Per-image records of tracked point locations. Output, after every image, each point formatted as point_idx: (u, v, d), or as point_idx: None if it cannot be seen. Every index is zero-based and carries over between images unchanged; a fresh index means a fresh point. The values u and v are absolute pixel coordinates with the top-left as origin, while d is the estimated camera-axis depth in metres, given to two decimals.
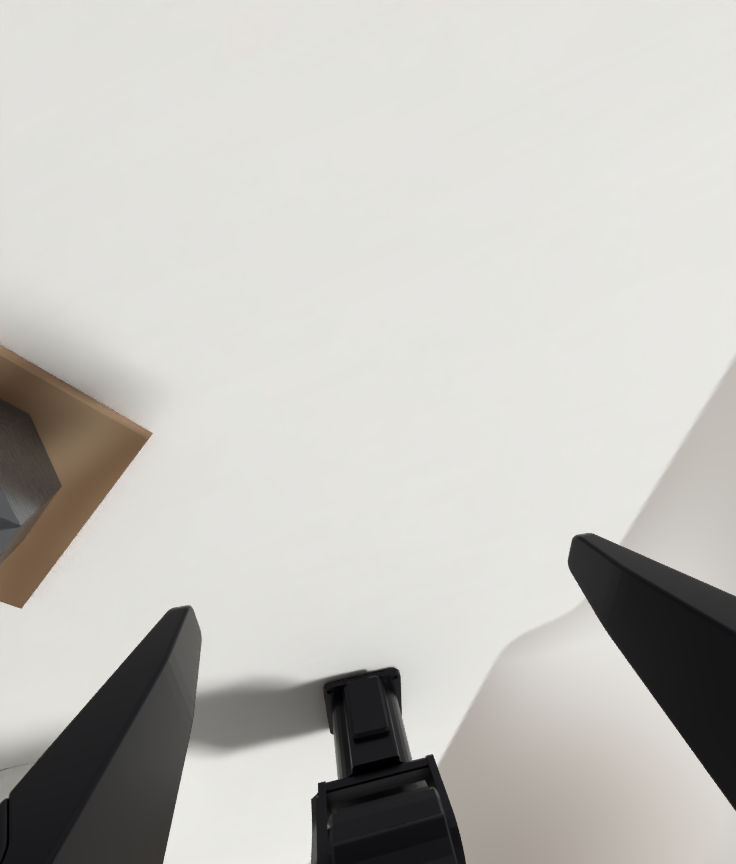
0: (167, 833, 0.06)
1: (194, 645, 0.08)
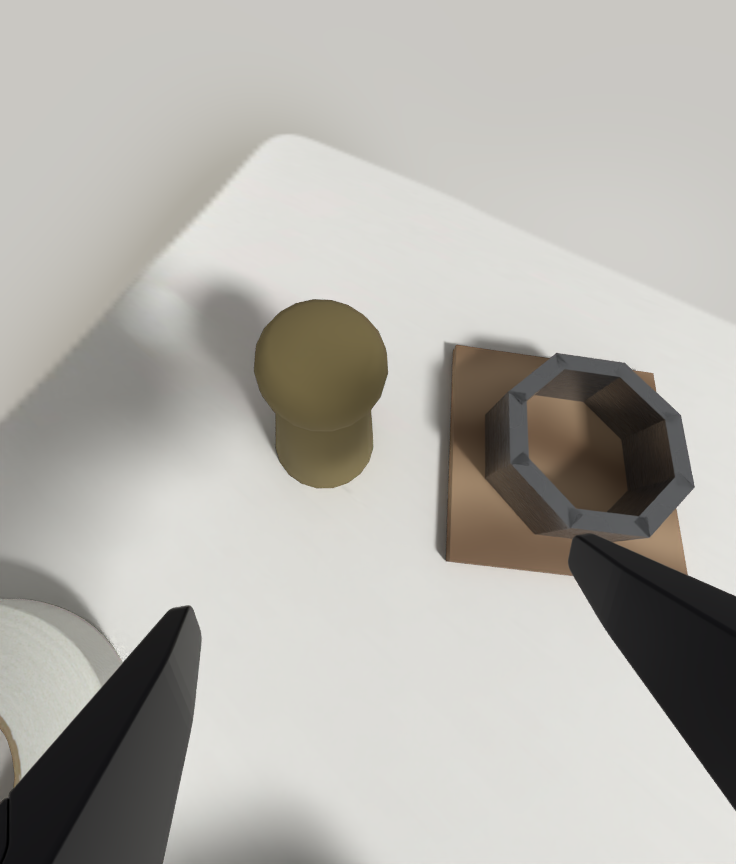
0: (167, 833, 0.06)
1: (194, 645, 0.08)
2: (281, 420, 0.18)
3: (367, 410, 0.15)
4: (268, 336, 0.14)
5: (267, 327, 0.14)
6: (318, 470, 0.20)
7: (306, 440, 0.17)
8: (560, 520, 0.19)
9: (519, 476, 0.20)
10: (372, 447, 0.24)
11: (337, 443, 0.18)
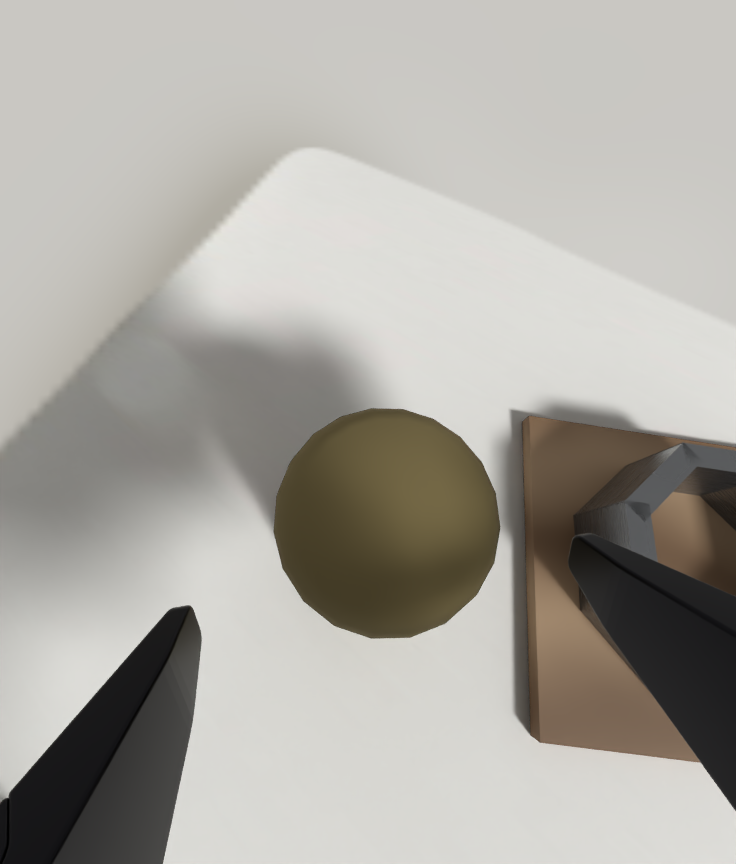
0: (167, 833, 0.06)
1: (194, 645, 0.08)
2: None
3: None
4: (302, 486, 0.08)
5: (299, 465, 0.08)
6: None
7: None
8: None
9: None
10: None
11: None
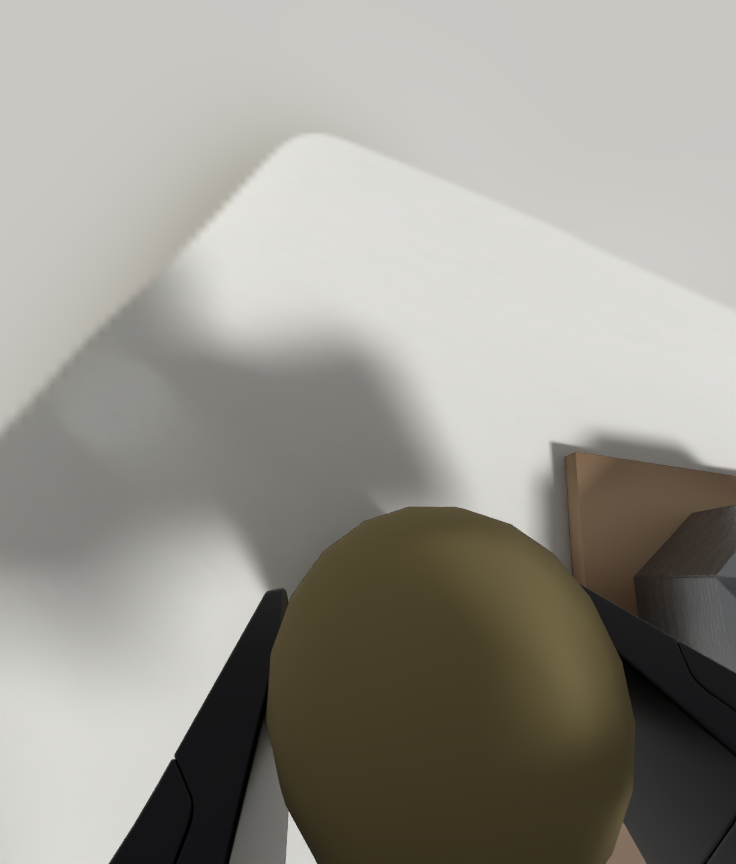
0: None
1: None
2: None
3: None
4: (313, 675, 0.05)
5: (308, 627, 0.05)
6: None
7: None
8: None
9: None
10: None
11: None
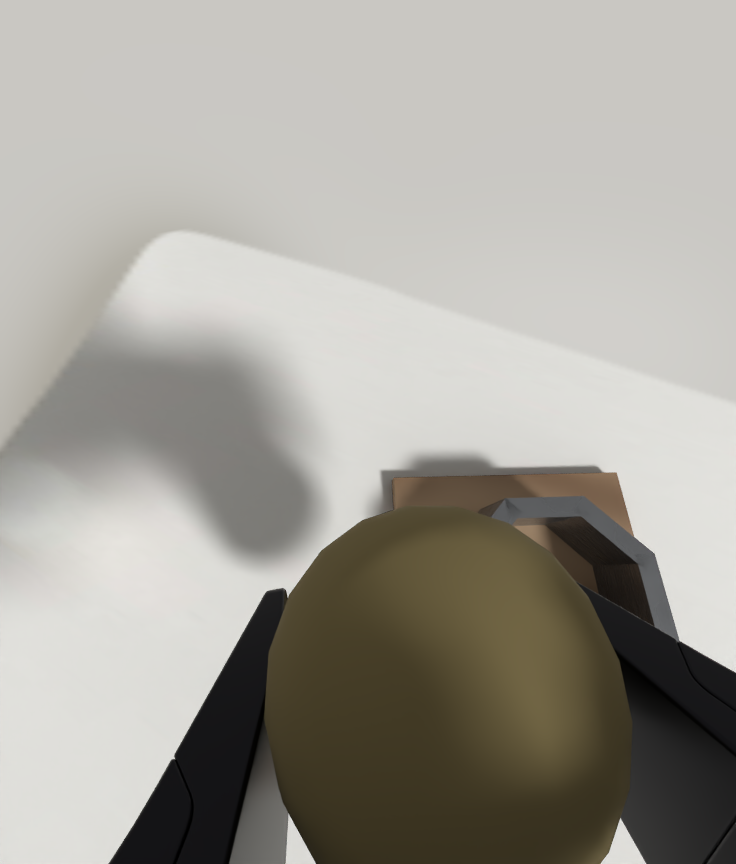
0: None
1: None
2: None
3: None
4: (310, 673, 0.05)
5: (306, 625, 0.05)
6: None
7: None
8: None
9: None
10: None
11: None
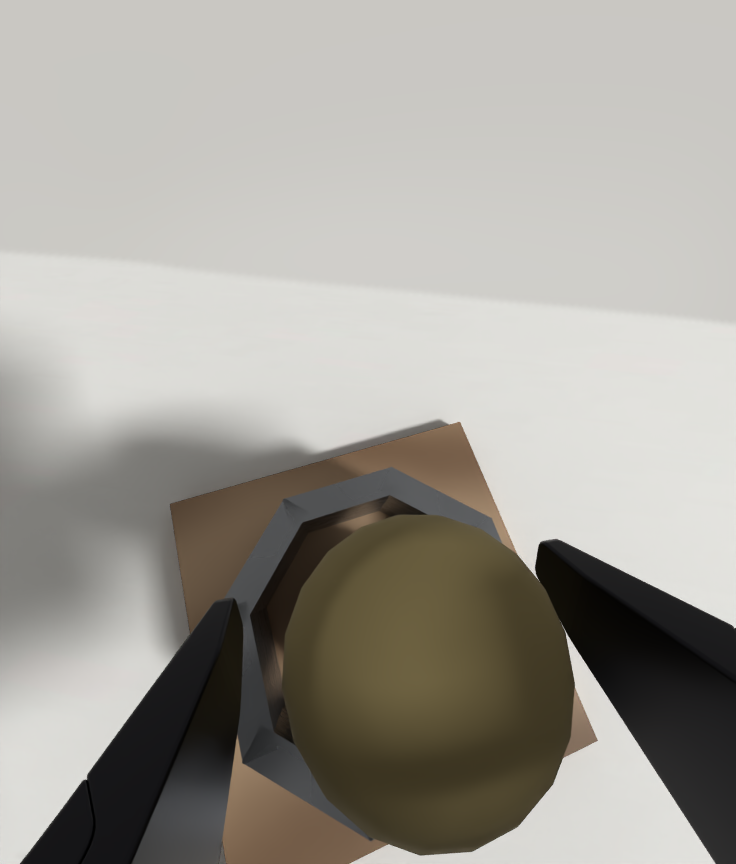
0: (224, 818, 0.06)
1: (238, 636, 0.08)
2: None
3: None
4: (321, 645, 0.06)
5: (316, 609, 0.06)
6: None
7: None
8: None
9: None
10: None
11: None
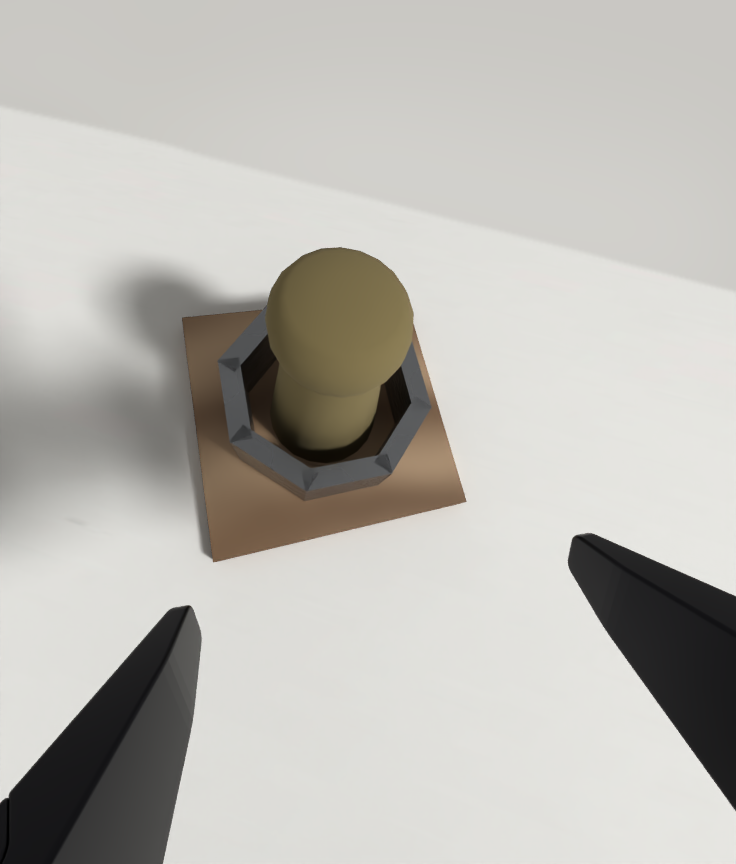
0: (167, 833, 0.06)
1: (194, 645, 0.08)
2: (285, 380, 0.16)
3: (385, 378, 0.13)
4: (287, 279, 0.12)
5: (286, 270, 0.13)
6: (315, 441, 0.19)
7: (310, 406, 0.16)
8: (297, 486, 0.18)
9: (245, 452, 0.18)
10: (372, 425, 0.22)
11: (342, 413, 0.16)
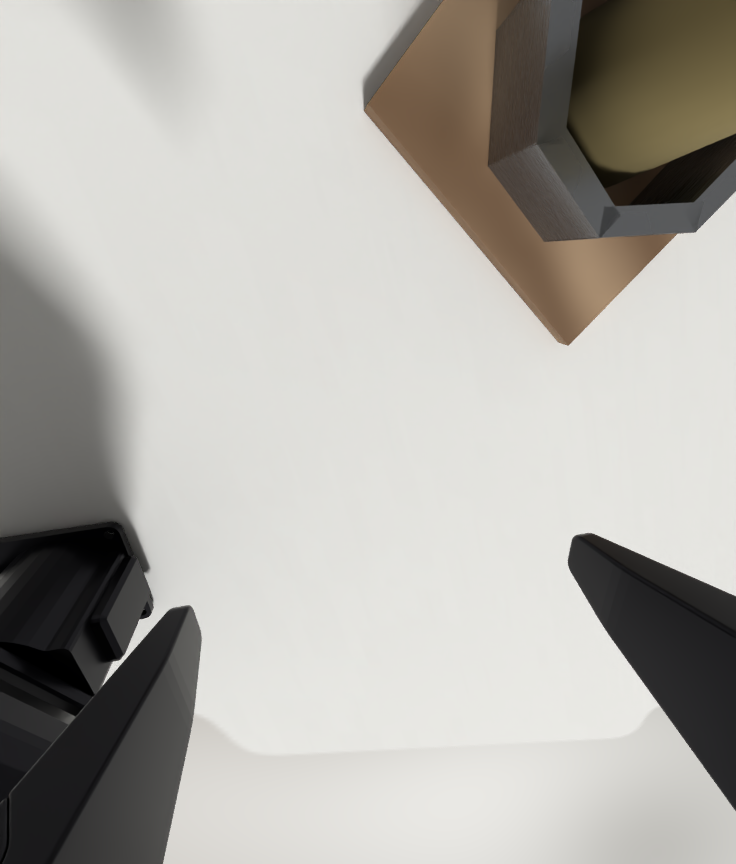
0: (167, 833, 0.06)
1: (194, 645, 0.08)
2: None
3: None
4: None
5: None
6: (592, 111, 0.13)
7: (697, 35, 0.10)
8: (535, 127, 0.13)
9: (546, 10, 0.12)
10: (613, 184, 0.17)
11: (693, 100, 0.11)
